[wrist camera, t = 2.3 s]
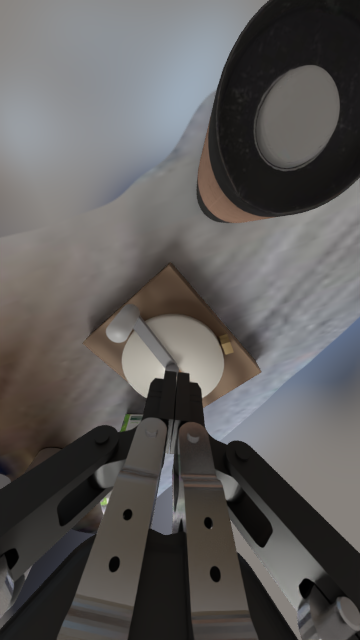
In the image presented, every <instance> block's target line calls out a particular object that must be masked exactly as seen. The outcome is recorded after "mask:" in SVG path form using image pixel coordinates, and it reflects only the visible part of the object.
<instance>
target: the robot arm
mask: <svg viewBox="0 0 360 640" xmlns="http://www.w3.org/2000/svg"><path fill="white" fill-rule="evenodd" d="M176 375H177V379H176ZM170 439H171V443H170ZM169 446H170V454H174V464H173V469H172V487H173V524H172V534H170V535H163V534H161V533H159V532H157V531H155V530H152V529H151V527H152V521H153V515H154V510H155V504H156V498H157V493H158V487H159V481H160V476H161V470H162V468H163V465H164V458H165V453H167V454H168V453H169ZM112 489H113V490H112ZM110 491H112V492H111V495H110V498H109V501H108V504H107V507H106V509H105V512H104V515H103V518H102V521H101V524H100V526H99V529H98V532H97V534H95V535H93V536H92V537H90V538H88V539H87V540H85V541H84V542H83V543H81V544H80V545H79V546H78V547H77V548H75V549H74V550H73V552H72V553H70V555H68V557H67V558H66V559H65V560H64V561H63V562H62V563H61V564H60V565H59V566H58V568H57V569H56V570H55V571H54V572H53V573H52V574H51V575H50V576H49V577H48V578H47V579H46V580H45V581H44V582H43V584H42V585H41V586H40V587H39V588H38V589H37V590H36V591H35V592H34V593H33V594H32V595H31V597H30V598H29V599H28V600H27V601H26V602H25V603H24V604H23V605H22V606H21V607H20V608H19V609H18V611H17V612H16V613H15V614H14V615H13V616H12V617H11V618H10V619H9V620H8V621H7V622H6V624H5V625H4V626H3V627H2V628H1V629H0V640H298V639H297V637H296V636H295V634H294V633H293V631H292V630H291V628H290V627H289V625H288V623H287V622H286V620H285V619H284V617H283V616H282V614H281V613H280V611H279V610H278V608H277V607H276V605H275V603H274V602H273V600H272V599H271V597H270V596H269V594H268V593H267V591H266V589H265V588H264V586H263V585H262V583H261V582H260V580H259V579H258V577H257V576H256V574H255V572H254V571H253V570H252V568H251V567H250V566H249V564H248V563H247V562H246V560H245V559H243V557H242V556H241V555H240V554H239V553H238V552H237V551H236V546H235V541H234V537H233V532H232V527H231V522H230V520H231V521H232V522H233V524H234V525H235V526H236V528H237V529H238V531H239V532H240V533H241V535H242V536H243V538H244V539H245V540H246V542H247V543H248V544H249V546H250V547H251V549H252V550H253V551H254V553H255V554H256V556H257V557H258V558H259V560H260V561H261V563H262V564H263V565H264V567H265V568H266V569H267V571H268V572H269V573H270V575H271V576H272V578H273V579H274V581H275V582H276V583H277V585H278V586H279V587H280V589H281V590H282V592H283V593H284V594H285V596H286V597H287V599H288V600H289V601H290V603H291V604H292V605H293V607H294V608H295V610H296V611H297V621H298V627H299V632H300V635H301V638H302V640H360V553H359V552H358V551H357V550H355V549H354V547H353V546H352V545H351V544H349V542H348V541H346V540H345V539H344V538H343V537H342V536H341V535H340V534H339V533H338V532H337V531H336V530H335V529H334V528H333V527H332V526H331V525H330V524H329V523H328V522H327V521H326V520H325V519H324V518H323V517H322V516H321V515H320V514H319V513H318V512H317V511H316V510H315V509H314V508H313V507H312V506H311V505H310V504H309V503H308V502H307V501H306V500H305V499H304V498H303V497H302V496H300V495H299V494H298V493H297V492H296V491H295V490H294V489H293V488H292V487H291V486H290V485H289V484H288V483H287V482H286V481H285V480H284V479H283V478H282V477H281V476H280V475H279V474H278V473H277V472H276V471H275V470H274V469H273V468H272V467H271V466H270V465H269V464H268V463H267V462H266V461H265V460H264V459H263V458H262V457H261V456H260V455H259V454H257V452H255V451H254V450H253V449H252V448H251V447H250V446H249V445H248V444H246V443H244V442H242V441H232V442H230V443H229V444H228V445H226V444H224V443H222V442H219V441H217V440H215V439H214V438H212V437H211V436H210V435H209V434H208V432H207V430H206V428H205V424H204V413H203V403H202V392H201V388H200V386H199V385H198V383H195V382H190V374H189V373H184V372H178V373H177V372H175V371H166V370H165V374H164V379H161V378H155V379H154V380H153V381H152V382H151V383H150V387H149V391H148V396H147V400H146V404H145V408H144V413H143V417H142V420H141V422H140V423H139V424H138V425H137V426H136V427H135V428H133V429H131V430H128V431H123V432H117V430H116V429H115V428H114V427H112V426H108V425H102V426H98V427H96V428H94V429H92V430H91V431H89V432H88V433H86V434H85V435H83V436H82V437H80V438H78V439H77V440H75V441H74V442H72V443H71V444H69V445H68V446H66V447H65V448H63V449H58V448H46V449H43V450H41V451H39V452H38V454H37V455H36V457H35V458H34V460H33V461H32V463H31V464H30V466H29V467H28V469H27V470H26V472H25V473H24V474H23V475H22V476H20V477H19V478H17V479H16V480H14V481H13V482H11V483H10V484H8V485H7V486H5V487H3V488H2V489H0V619H1V618H2V616H3V614H4V613H5V611H7V610H8V609H10V608H11V607H12V605H13V604H14V602H15V601H16V599H17V597H18V595H19V593H20V591H21V588H22V586H23V584H24V582H25V580H26V577H27V575H28V573H29V571H30V569H31V567H32V565H33V564H34V563H35V562H36V561H37V560H38V559H40V558H41V557H42V556H43V555H44V554H45V553H46V552H47V551H48V550H49V549H50V548H51V547H52V546H53V545H54V544H55V543H56V542H58V541H59V540H60V539H61V538H62V537H63V536H64V535H65V534H66V533H67V532H68V531H69V530H70V529H71V528H72V527H73V526H74V525H76V524H77V523H78V522H79V521H80V520H81V519H82V518H83V517H84V516H85V515H86V514H87V513H88V512H89V511H90V510H91V509H92V508H94V507H95V506H96V505H97V504H98V503H99V502H100V501H101V500H102V499H103V498H104V497H105V496H106V495H107V494H108V493H109V492H110Z"/></svg>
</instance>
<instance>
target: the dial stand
mask: <svg viewBox="0 0 360 640" xmlns="http://www.w3.org/2000/svg"><path fill="white" fill-rule="evenodd" d="M127 304H133V305H135V306H137V307H138V309H139V311H140V316H141V317H142V319H143V320H144V321H146V320H148V319H150V318H153V317H155V316H159V315H163V314H181V315H186V316H189V317H192V318H195V319H197V320H199V321H200V322H202V323H204V324H205V325H206V326H208V327H209V328H210V329H211V330H212V332H213V333H214V334H215V335H216V337H217V339H218V341H219V343H220V346H221V350H222V353H223V358H224V370H223V374H222V377H221V379H220V381H219V383H218V384H217V386H216V387H215V388H214V389H213V390H212V391H211V392H210V393H209V394H208V395H206V396H205V397H203V398H202V403H203V408H204V407H205V406H207V405H209V404H210V403H212V402H214V401H215V400H217V399H218V398H220V397H222V396H223V395H225V394H227V393H228V392H230V391H232V390H233V389H235V388H236V387H238V386H240V385H241V384H243V383H245V382H246V381H248V380H250V379H251V378H253V377H254V376H256V375H258V374H259V373H261V370H260V368H259V366H258V365H257V363H256V361H255V360H254V359H253V357H252V356H251V355H250V354H249V353H248V352H247V350H246V349H245V348H244V347H243V346H242V345H241V343H240V342H239V341H238V340H237V339H236V338H235V336H234V335H233V334H232V333H231V332H230V331H229V330H228V328H227V327H226V326H225V325H224V324H223V323H222V321H221V320H220V319H219V318H218V317H217V316H216V314H215V313H214V312H213V311H212V310H211V309H210V307H209V306H208V305H207V304H206V303H205V302H204V300H203V299H202V298H201V297H200V296H199V295H198V293H197V292H196V291H195V290H194V289H193V288H192V286H191V285H190V284H189V283H188V282H187V281H186V279H185V278H184V277H183V276H182V275H181V274H180V272H179V271H178V270H177V269H176V268H175V267H174V265H173V264H172V263H171V262H170V263H169V264H168V265H167V266H166V267H165V268H163V269H162V270H161V271H160V272H159V273H158V274H157V275H156V276H155V277H154V278H152V279H151V280H150V281H149V282H148V283H147V284H146V285H145V286H144V287H142V288H141V289H140V290H139V291H138V292H137V293H136V294H135V295H134V296H132V297H131V298H130V299H129V300H128V301H127V302H126V303H125V304H124V305H122V306H121V307H120V308H119V309H118V310H117V311H116V312H115V313H114V314H112V315H111V316H110V317H109V318H108V319H107V320H106V321H105V322H104V323H102V324H101V325H100V326H99V327H98V328H97V329H96V330H95V331H94V332H92V333H91V334H90V335H89V336H88V338H87V339H86V340H85V341H84V342H83V344H84V345H85V346H86V347H87V348H89V349H90V350H91V351H92V352H93V353H94V354H96V355H97V356H98V357H99V358H100V359H101V360H103V361H104V362H105V363H106V364H107V365H108V366H110V367H111V368H112V369H113V370H114V371H115V372H117V373H118V374H119V375H120V376H121V377H122V378H124V379H125V380H126V381H127V379H126V377H125V375H124V372H123V368H122V354H123V350H124V347H125V345H126V343H127V341H128V339H129V337H130V336H131V334H132V333H133V331H134V329H132V331H131V332H130V334H129V336H128V338H127V339H126V340H125V341H124V342H121V343H116V342H113V341H111V340H110V339H109V338H108V336H107V334H106V329H107V327H108V325H109V324H110V323H111V322H112V320H113V319H114V318H115V317H116V315H117V314H118V313H119V312H120V310H121V309H122V308H123V307H124V306H125V305H127ZM127 382H128V381H127ZM128 383H129V382H128Z"/></svg>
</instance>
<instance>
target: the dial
mask: <svg viewBox="0 0 360 640" xmlns="http://www.w3.org/2000/svg"><path fill="white" fill-rule="evenodd" d="M132 329H134V331H133V333H132V334H131V336H130V337H129V339H128V341H127V343H126V345H125V347H124V350H123V354H122V368H123V372H124V375H125V377H126V379H127V381H128V382H129V384H130V385H131V386H132V387H133V388H134V389H135V390H136V391H137V392H138V393H139V394H141V395H142V396H144V397H145V398H147V396H148V391H149V387H150V383H151V382H152V381H153V380H154V379H155V378H161V379H164V374H165V370H166V371H175V372H177V373H178V372H184V373H189V374H190V382H195V383H198V385H199V386H200V388H201V392H202V398H203V397H205V396H206V395H208V394H209V393H210V392H211V391H212V390H213V389H214V388H215V387H216V386H217V384H218V383H219V381H220V379H221V377H222V374H223V370H224V358H223V353H222V350H221V346H220V343H219V341H218V339H217V337H216V335H215V334H214V333H213V332H212V330H211V329H210V328H209V327H208V326H206V325H205V324H204V323H202V322H200V321H199V320H197V319H195V318H192V317H189V316H186V315H181V314H163V315H159V316H155V317H153V318H150V319H148V320H146V321H144V320H143V319H142V317H141V316H140V311H139V309H138V307H137V306H135V305H133V304H127V305H125V306H124V307H123V308H122V309H121V310H120V312H119V313H118V314H117V315H116V317H115V318H114V319H113V320H112V322H111V323H110V324H109V325H108V327H107V329H106V334H107V336H108V338H109V339H110V340H111V341H113V342H116V343H121V342H124V341H125V340H126V339H127V338H128V336H129V334H130V332H131V331H132ZM176 379H177V375H176Z"/></svg>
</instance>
